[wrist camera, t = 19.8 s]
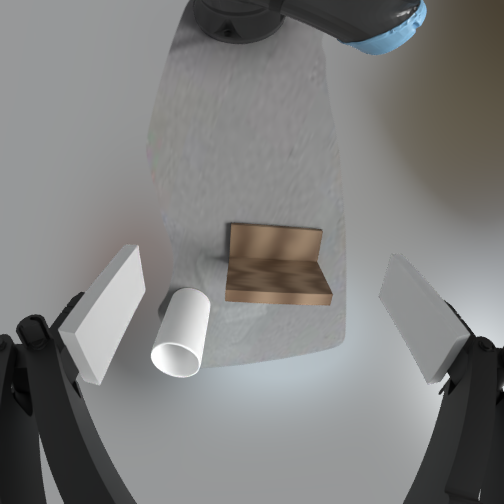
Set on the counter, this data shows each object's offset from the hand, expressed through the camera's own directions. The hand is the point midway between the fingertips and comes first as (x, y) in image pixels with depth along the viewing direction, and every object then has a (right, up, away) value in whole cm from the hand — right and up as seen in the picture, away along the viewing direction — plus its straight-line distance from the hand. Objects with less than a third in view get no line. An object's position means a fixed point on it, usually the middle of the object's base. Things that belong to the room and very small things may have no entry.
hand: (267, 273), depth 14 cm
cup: (-13, -10, +42) cm, 45 cm away
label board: (+3, +2, +37) cm, 37 cm away
